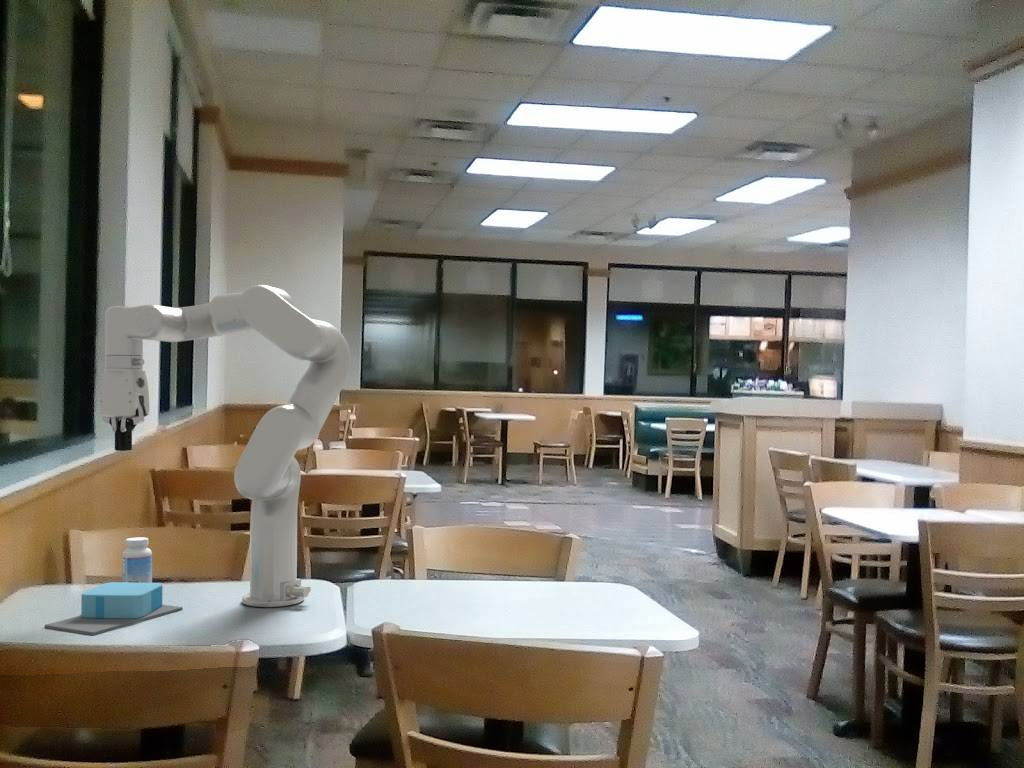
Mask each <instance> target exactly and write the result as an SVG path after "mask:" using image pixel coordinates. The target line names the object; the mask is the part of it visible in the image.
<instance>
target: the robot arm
mask: <svg viewBox="0 0 1024 768" xmlns="http://www.w3.org/2000/svg"><path fill="white" fill-rule="evenodd" d="M104 313H105V314H104V371H103V373H102V378H101V383H100V384H101V385H100V395H99V396H100V397H99V408H100V414H101V416H103V417H102V421H103V422H104V423H107V424H110V426H111V428H112V429H111V430H112V432H114V451H119V452H120V451H121V452H122V451H123V452H124V451H126V452H127V451H132V449H133V432H134V431H135V429H136V427H137V425H139V424H143V423H144V422H145V417H147V416H149V414H150V392H149V383H148V378H147V377H148V376H147V374H146V371H145V370H143V369H144V368H143V367H144V366H143V365H145V360H144V358H143V356H144V355H143V354H144V352H143V349H144V347H143V346H144V345H143V344H144V340H147V341H156V342H168V343H175V342H177V343H178V342H186V341H195V340H201V339H208V338H214V337H222V336H228V335H236V334H242V333H250V332H258V334H260V335H262V336H263V337H264V338H265V339H267V340H268V341H270V342H271V343H272V344H273V345H274V346H276V347H277V348H279V349H280V350H281V351H282V352H283V353H285V354H287V355H288V356H290V357H291V358H294V359H296V360H300V361H309V365H308V366H309V367H308V368H307V369H306V371H305V372H304V373H303V375H302V377H301V378H300V379H299V381H298V383H297V385H296V387H295V389H294V391H293V392H292V394H291V396H290V398H289V400H288V401H287V402H286V404H282V405H278V406H277V405H276V406H275V407H273V408H271V409H268V411H267V412H266V413H265V414H264V415H263V416H262V417H261V419H260V421H258V423H257V425H256V426H255V429H254V430H253V432H252V434H251V436H250V438H249V440H248V442H247V444H246V445H245V448H244V450H243V452H242V453H241V455H240V457H239V459H238V462H237V463H236V466H235V469H234V473H233V479H234V484H235V488H236V490H237V491H238V493H239V494H241V495H242V496H243V497H245V498H246V499H249V500H252V501H251V509H250V519H249V520H250V521H249V522H250V527H249V529H250V530H249V538H250V539H249V542H250V544H249V593H248V592H247V593H246V594H244V595H242V597H241V602H242V603H243V605H245V606H249V607H255V608H280V607H287V606H293V605H296V604H299V603H301V602H303V601H304V600H305V598H307V597H309V595H310V593H311V590H312V588H311V587H310V586H306V585H302V579H301V578H297V577H298V570H297V569H298V506H299V494H300V487H301V479H302V477H301V476H302V474H301V473H302V472H301V468H300V465H299V461H298V460H297V458H295V455H296V454H297V452H298V451H301V450H304V449H307V448H309V447H311V446H312V445H313V444H314V443H315V441H316V440H317V438H318V436H319V434H320V432H321V430H322V428H323V427H324V424H325V422H326V421H327V419H328V417H329V415H330V413H331V411H332V409H333V407H334V405H335V402H336V401H337V399H338V397H339V395H340V393H341V391H342V389H343V387H344V386H345V384H346V381H347V379H348V377H349V373H350V371H351V370H350V369H351V364H352V363H351V361H352V360H351V359H352V357H351V350H350V347H349V344H348V341H347V340H346V338H345V337H344V335H343V333H342V332H341V331H340V330H339V329H338V328H337V327H335V326H334V325H333V324H332V323H329V322H326V321H323V320H320V319H319V320H318V319H314V318H311V317H308V316H307V315H306V314H305V313H302V311H300V310H299V309H297V308H296V307H295V302H294V299H293V298H292V297H291V295H290V294H289V293H287V292H286V290H283V289H282V288H279V287H278V288H277V287H273V286H270V285H265V284H257V285H252V286H249V287H248V288H247V289H245V290H244V291H240V292H232V293H223V294H217V295H215V296H213V297H212V299H211V300H210V301H209V302H207V303H202V304H197V305H191V306H190V305H189V306H183V307H182V306H181V307H180V306H179V307H171V306H166V305H165V306H164V305H158V304H141V305H138V306H136V305H135V306H129V305H126V306H124V305H123V306H122V305H115V306H110V307H109V306H108V308H106V310H105V312H104Z"/></svg>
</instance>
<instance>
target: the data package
mask: <svg viewBox="0 0 1024 768" xmlns="http://www.w3.org/2000/svg"><path fill="white" fill-rule="evenodd" d="M80 605H81V610H80V611H81V612H80V614H81V615H80V616H82V617H83V618H110V619H137V618H142V617H144V616H145V615H147V614H149V613H151V612H153V611H154V610H156V609H158V608H160V607H161V606H162V605H163V584H162V583H161V582H152V583H131V582H121V581H117V582H116V581H115V582H113V581H111V582H104V583H101V584H100V585H98V586H96V587H94V588H92V589H89V590H87V591H84V592H82V593H81V604H80Z"/></svg>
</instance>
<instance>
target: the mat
mask: <svg viewBox="0 0 1024 768" xmlns="http://www.w3.org/2000/svg"><path fill="white" fill-rule="evenodd" d="M179 611H183V606H175V605H169V604H162V606H161V607H160V608H158V609H156V610H154V611H153V612H151V613H149V614H147V615H145V616H144V617H142V618H137V619H110V618H83V617H82V616H81V615H77V616H74V617H70V618H66V619H63V620H57V621H53V622H50V623H47V624H44V628H45V629H51V630H59V631H64V632H71V633H78V634H84V635H91V636H96V635H100V634H102V633H106V632H109V631H113V630H115V629H116V630H117V629H121V628H123V627H124V628H125V627H127V626H130V625H134V624H138V623H141V622H144V621H148V620H151V619H155V618H159V617H163V616H166V615H169V614H172V613H176V612H179Z"/></svg>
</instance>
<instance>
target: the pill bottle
mask: <svg viewBox="0 0 1024 768" xmlns="http://www.w3.org/2000/svg"><path fill="white" fill-rule="evenodd" d="M148 546H149V538H148V537H144V536H143V537H142V536H141V537H140V536H139V537H137V536H136V537H129V538H126V539H125V547H126V549H124V550H123V552H122V559H121V561H122V563H121V564H122V567H121V568H122V571H121V572H122V573H121V575H122V582H131V583H153V553H152V550H151V549H150V548H149V547H148Z"/></svg>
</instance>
